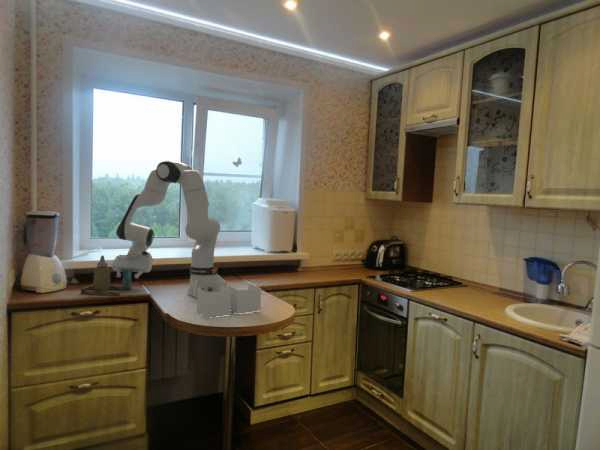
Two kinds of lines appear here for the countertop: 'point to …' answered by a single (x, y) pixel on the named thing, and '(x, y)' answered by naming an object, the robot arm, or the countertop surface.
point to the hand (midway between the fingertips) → (126, 277)
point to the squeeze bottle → (102, 276)
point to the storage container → (228, 301)
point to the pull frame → (111, 286)
